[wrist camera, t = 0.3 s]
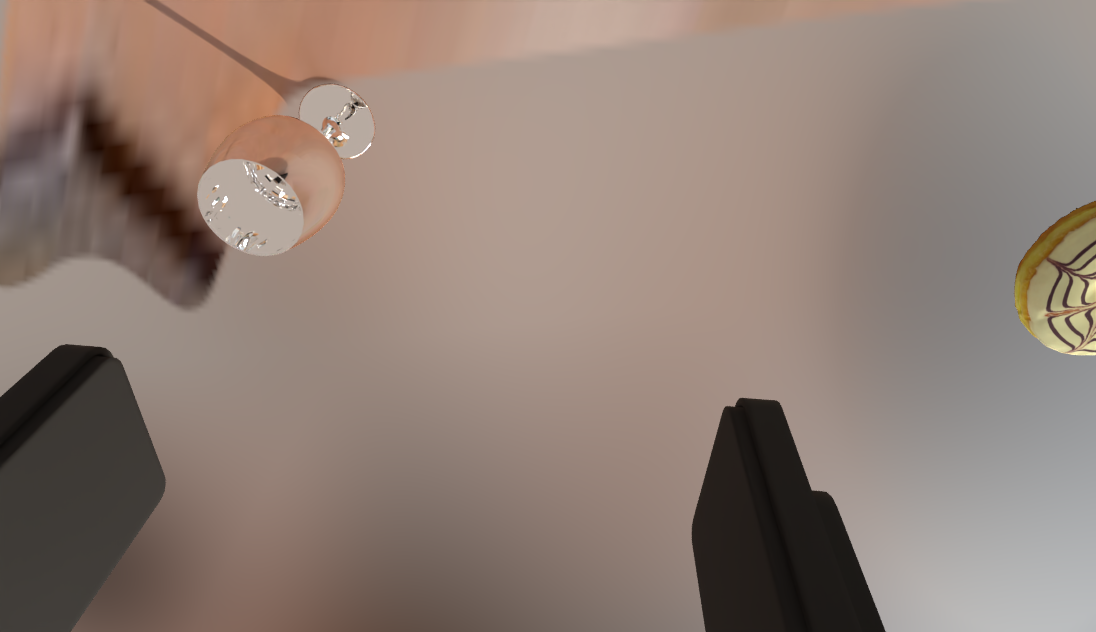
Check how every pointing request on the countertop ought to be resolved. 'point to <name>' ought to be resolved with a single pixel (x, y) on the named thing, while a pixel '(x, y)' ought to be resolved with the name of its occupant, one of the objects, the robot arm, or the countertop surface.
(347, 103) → the wineglass
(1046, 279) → the decorated donut
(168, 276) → the countertop surface
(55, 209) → the countertop surface
